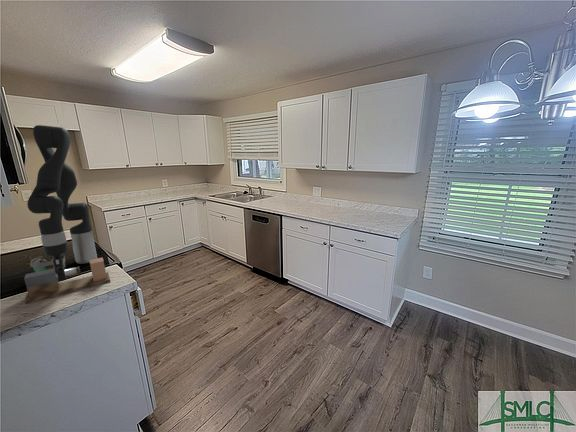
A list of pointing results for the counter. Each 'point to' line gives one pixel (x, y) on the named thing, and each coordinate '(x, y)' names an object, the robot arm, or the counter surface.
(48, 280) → the sleeve
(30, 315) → the counter surface
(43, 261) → the food container
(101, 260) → the socket
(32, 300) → the dock
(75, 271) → the tube
